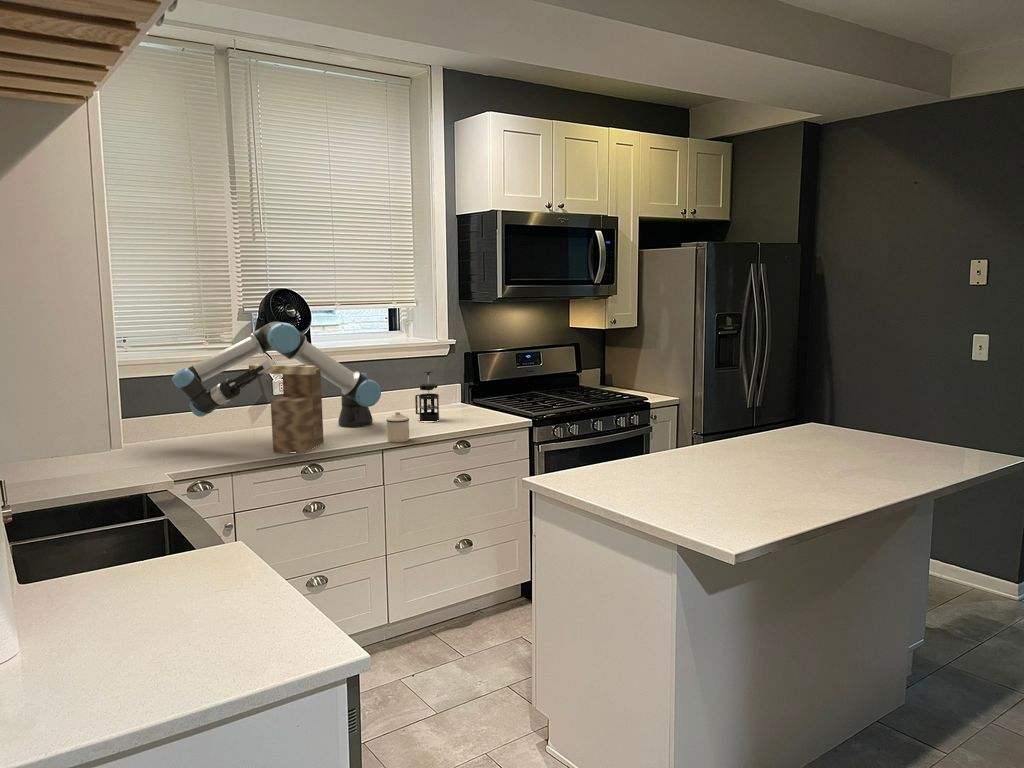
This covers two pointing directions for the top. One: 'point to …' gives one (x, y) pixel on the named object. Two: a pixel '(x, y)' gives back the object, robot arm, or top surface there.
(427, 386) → the french press
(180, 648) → the top surface
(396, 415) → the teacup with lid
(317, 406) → the walnut shelf
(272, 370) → the beech rod
